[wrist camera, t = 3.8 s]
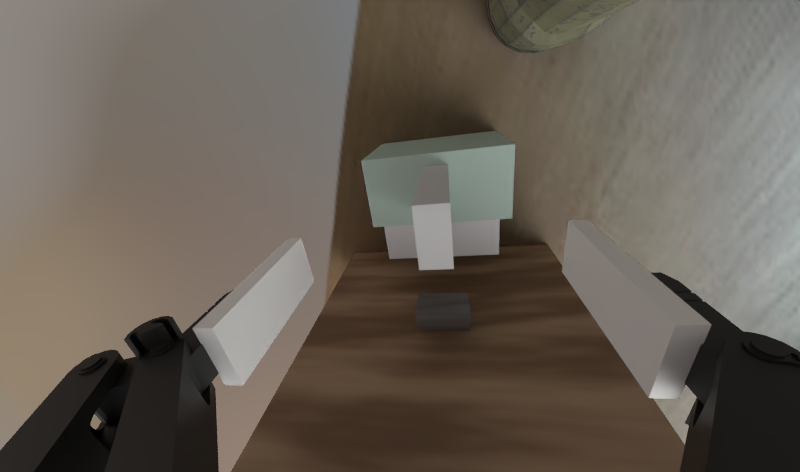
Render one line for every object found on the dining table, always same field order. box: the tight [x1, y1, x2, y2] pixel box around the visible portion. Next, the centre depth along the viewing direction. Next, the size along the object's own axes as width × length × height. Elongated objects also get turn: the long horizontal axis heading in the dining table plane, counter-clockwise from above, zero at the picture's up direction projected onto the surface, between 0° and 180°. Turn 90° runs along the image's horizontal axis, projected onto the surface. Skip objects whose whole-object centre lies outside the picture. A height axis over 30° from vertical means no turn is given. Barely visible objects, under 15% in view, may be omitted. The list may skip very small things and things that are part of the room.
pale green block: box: [361, 131, 515, 270], centre depth 24 cm, size 9×12×18 cm
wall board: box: [231, 244, 685, 472], centre depth 25 cm, size 11×24×28 cm, turn 98°
